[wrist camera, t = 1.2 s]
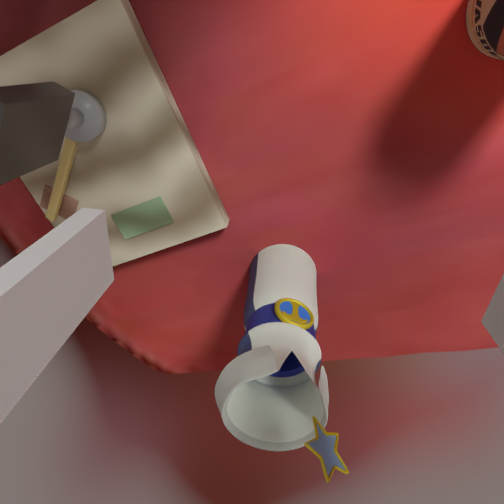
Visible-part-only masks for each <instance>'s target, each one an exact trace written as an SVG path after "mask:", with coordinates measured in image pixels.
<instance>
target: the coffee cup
mask: <svg viewBox="0 0 504 504" xmlns="http://www.w3.org/2000/svg"><path fill="white" fill-rule="evenodd" d="M466 26H467V31H468V34H469V37H470V39H471V41H472V43H473V44H474V45H475V47H476V48H477V49H478V50H479V51H480V52H482V53H483V54H485V55H487V56H489V57H492V58H495V59H500V60H504V0H469V1H468V5H467V11H466Z"/></svg>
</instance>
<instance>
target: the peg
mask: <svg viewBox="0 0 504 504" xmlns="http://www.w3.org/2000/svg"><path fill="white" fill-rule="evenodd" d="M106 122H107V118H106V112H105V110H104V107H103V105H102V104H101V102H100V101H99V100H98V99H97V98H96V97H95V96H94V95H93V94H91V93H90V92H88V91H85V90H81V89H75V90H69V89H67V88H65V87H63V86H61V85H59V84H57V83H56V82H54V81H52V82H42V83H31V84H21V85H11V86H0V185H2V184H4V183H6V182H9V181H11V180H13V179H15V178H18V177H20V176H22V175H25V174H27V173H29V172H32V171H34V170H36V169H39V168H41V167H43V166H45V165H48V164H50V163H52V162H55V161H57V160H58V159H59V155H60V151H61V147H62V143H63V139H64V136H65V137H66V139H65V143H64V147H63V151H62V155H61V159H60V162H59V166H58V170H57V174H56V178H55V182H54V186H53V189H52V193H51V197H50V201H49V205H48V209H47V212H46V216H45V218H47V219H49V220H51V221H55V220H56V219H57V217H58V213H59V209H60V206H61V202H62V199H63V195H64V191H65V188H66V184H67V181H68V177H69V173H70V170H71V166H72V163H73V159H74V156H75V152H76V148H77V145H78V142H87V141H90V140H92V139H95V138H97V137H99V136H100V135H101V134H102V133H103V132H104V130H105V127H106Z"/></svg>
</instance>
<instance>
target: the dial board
mask: <svg viewBox="0 0 504 504" xmlns="http://www.w3.org/2000/svg"><path fill="white" fill-rule="evenodd" d="M52 81H54V82H56V83H57V84H59V85H61V86H63V87H65V88H67V89H69V90H75V89H81V90H85V91H88V92H90V93H91V94H93V95H94V96H95V97H96V98H97V99H98V100H99V101H100V102H101V104H102V105H103V107H104V110H105V112H106V118H107V122H106V127H105V130H104V132H103V133H102V134H101V135H100V136H99V137H97V138H95V139H92V140H90V141H87V142H78V145H77V148H76V152H75V156H74V159H73V163H72V166H71V170H70V173H69V177H68V181H67V184H66V188H65V191H64V195H63V199H62V202H61V206H60V209H59V213H58V217H57V219H56V220H55V221H51V220H49V221H50V222H51V224H52V225H53V227H54V228H55V227H57V226H58V225H59V224H61V223H62V222H64V221H65V220H66V219H68V218H69V217H70V216H72V215H73V214H74V213H76V212H77V211H79V210H80V209H81V208H91V209H101V210H105V214H106V222H107V229H108V237H109V244H110V252H111V259H112V267H113V266H116V265H119V264H122V263H125V262H127V261H130V260H133V259H136V258H139V257H142V256H145V255H148V254H151V253H154V252H157V251H160V250H162V249H165V248H168V247H171V246H174V245H177V244H180V243H183V242H186V241H189V240H192V239H195V238H197V237H200V236H203V235H206V234H209V233H212V232H215V231H218V230H221V229H224V228H227V226H228V223H229V217H228V215H227V213H226V211H225V209H224V207H223V204H222V202H221V200H220V198H219V196H218V194H217V191H216V189H215V187H214V185H213V183H212V180H211V178H210V176H209V174H208V172H207V170H206V167H205V165H204V163H203V161H202V159H201V157H200V154H199V152H198V150H197V148H196V146H195V144H194V141H193V139H192V137H191V135H190V133H189V130H188V128H187V126H186V124H185V122H184V120H183V117H182V115H181V113H180V111H179V109H178V107H177V104H176V102H175V100H174V98H173V96H172V94H171V91H170V89H169V87H168V85H167V83H166V80H165V78H164V76H163V74H162V72H161V70H160V67H159V65H158V63H157V61H156V59H155V57H154V54H153V52H152V50H151V48H150V46H149V44H148V41H147V39H146V37H145V35H144V33H143V30H142V28H141V26H140V24H139V22H138V20H137V17H136V15H135V13H134V11H133V9H132V7H131V4H130V2H129V0H97V1H95V2H94V3H92V4H90V5H88V6H87V7H85V8H83V9H81V10H80V11H78V12H76V13H74V14H73V15H71V16H69V17H67V18H66V19H64V20H62V21H60V22H59V23H57V24H55V25H54V26H52V27H50V28H48V29H47V30H45V31H43V32H41V33H40V34H38V35H36V36H34V37H33V38H31V39H29V40H27V41H26V42H24V43H22V44H20V45H19V46H17V47H15V48H13V49H12V50H10V51H8V52H7V53H5V54H3V55H1V56H0V86H11V85H21V84H31V83H42V82H52ZM65 139H66V137H65V136H64V139H63V143H62V147H61V151H60V155H59V159H58V160H57V161H55V162H52V163H50V164H48V165H45V166H43V167H41V168H39V169H36V170H34V171H32V172H29V173H27V174H25V175H22V176H20V179H21V180H22V181H23V183H24V184H25V186H26V187H27V189H28V190H29V192H30V193H31V195H32V196H33V198H34V199H35V200H36V202H37V203H38V205H39V206H40V208H41V209H42V211H43V212H44V214H45V215H46V212H47V209H48V205H49V201H50V197H51V193H52V189H53V186H54V182H55V178H56V174H57V170H58V166H59V162H60V159H61V155H62V151H63V147H64V143H65Z"/></svg>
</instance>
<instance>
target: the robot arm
mask: <svg viewBox="0 0 504 504" xmlns="http://www.w3.org/2000/svg"><path fill="white" fill-rule="evenodd" d="M113 281H114V274H113V267H112V259H111V252H110V244H109V237H108V229H107V222H106V214H105V210H101V209H91V208H81V209H80V210H79V211H77V212H76V213H74V214H73V215H72V216H70V217H69V218H68V219H66V220H65V221H64V222H62V223H61V224H59V225H58V226H57V227H55V228H54V229H53V230H51V231H50V232H49V233H47V234H46V235H44V236H43V237H42V238H40V239H39V240H38V241H36V242H35V243H33V244H32V245H31V246H29V247H28V248H27V249H25V250H24V251H23V252H21V253H20V254H18V255H17V256H16V257H15V258H13V259H12V260H10V261H9V262H8V263H6V264H5V265H3V266H2V267H1V268H0V424H1V422H2V421H3V420H4V418H5V417H6V416H7V415H8V413H9V412H10V411H11V410H12V408H13V407H14V406H15V405H16V403H17V402H18V401H19V400H20V398H21V397H22V396H23V394H24V393H25V392H26V390H27V389H28V388H29V387H30V386H31V384H32V383H33V382H34V381H35V379H36V378H37V377H38V375H39V374H40V373H41V372H42V370H43V369H44V368H45V367H46V365H47V364H48V363H49V361H50V360H51V359H52V358H53V356H54V355H55V354H56V353H57V351H58V350H59V349H60V347H61V346H62V345H63V344H64V342H65V341H66V340H67V339H68V338H69V336H70V335H71V334H72V333H73V331H74V330H75V329H76V327H77V326H78V325H79V324H80V322H81V321H82V320H83V319H84V317H85V316H86V315H87V314H88V312H89V311H90V310H91V308H92V307H93V306H94V305H95V303H96V302H97V301H98V300H99V298H100V297H101V296H102V295H103V293H104V292H105V291H106V290H107V288H108V287H109V286H110V284H111V283H112V282H113ZM481 322H482V324H483V325H484V326H485V328H486V329H487V331H488V332H489V334H490V335H491V336H492V338H493V339H494V341H495V342H496V343H497V345H498V346H499V348H500V349H501V350H502V352H503V353H504V274H503V276H502V278H501V280H500V282H499V284H498V287H497V289H496V291H495V293H494V295H493V297H492V299H491V302H490V304H489V306H488V308H487V310H486V312H485V314H484V316H483V319H482V321H481Z"/></svg>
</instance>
